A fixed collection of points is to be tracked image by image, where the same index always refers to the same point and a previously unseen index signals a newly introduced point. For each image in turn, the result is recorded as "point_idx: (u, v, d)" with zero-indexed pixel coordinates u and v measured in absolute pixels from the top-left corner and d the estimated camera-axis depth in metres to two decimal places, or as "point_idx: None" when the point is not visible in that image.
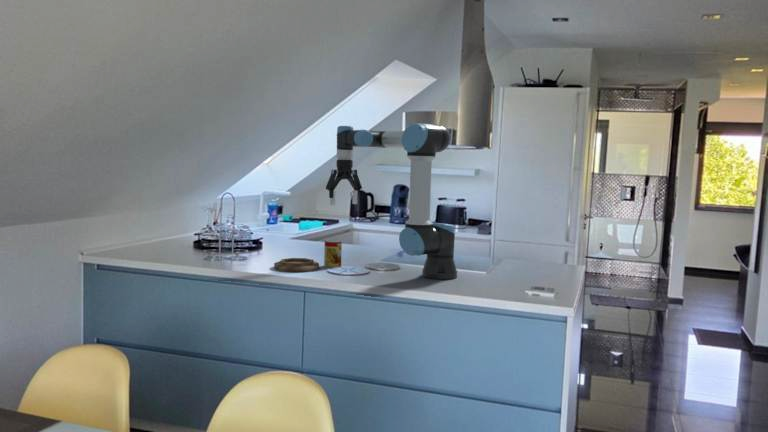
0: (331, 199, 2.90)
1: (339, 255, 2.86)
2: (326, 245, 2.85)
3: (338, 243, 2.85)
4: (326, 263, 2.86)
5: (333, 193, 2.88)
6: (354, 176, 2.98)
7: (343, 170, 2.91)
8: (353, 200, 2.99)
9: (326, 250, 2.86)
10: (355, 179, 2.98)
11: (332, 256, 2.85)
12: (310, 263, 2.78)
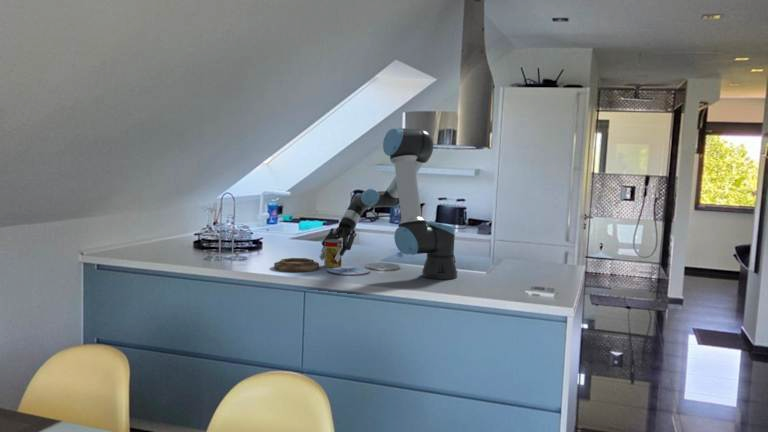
0: None
1: None
2: (326, 245, 2.85)
3: (338, 243, 2.85)
4: (326, 263, 2.86)
5: (324, 247, 2.90)
6: None
7: (341, 227, 2.96)
8: None
9: (326, 250, 2.86)
10: None
11: (332, 256, 2.85)
12: (310, 263, 2.78)
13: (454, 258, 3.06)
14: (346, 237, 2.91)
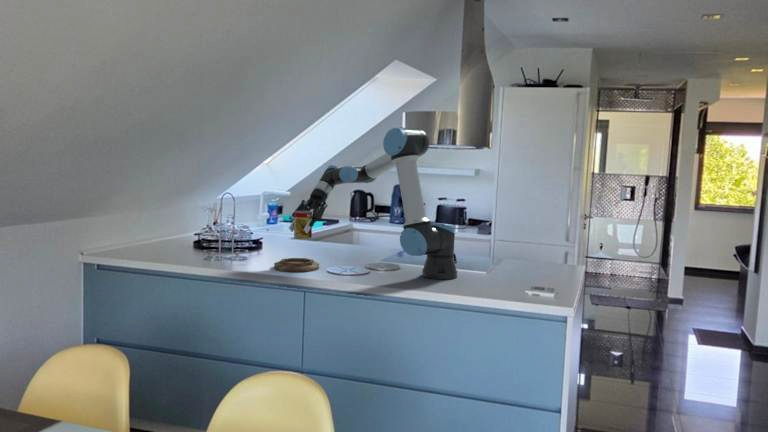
0: None
1: None
2: (295, 216, 2.80)
3: (308, 214, 2.79)
4: (296, 234, 2.81)
5: None
6: None
7: (312, 198, 2.90)
8: None
9: (295, 221, 2.80)
10: None
11: (302, 227, 2.79)
12: (310, 263, 2.78)
13: (455, 258, 3.06)
14: (317, 208, 2.85)
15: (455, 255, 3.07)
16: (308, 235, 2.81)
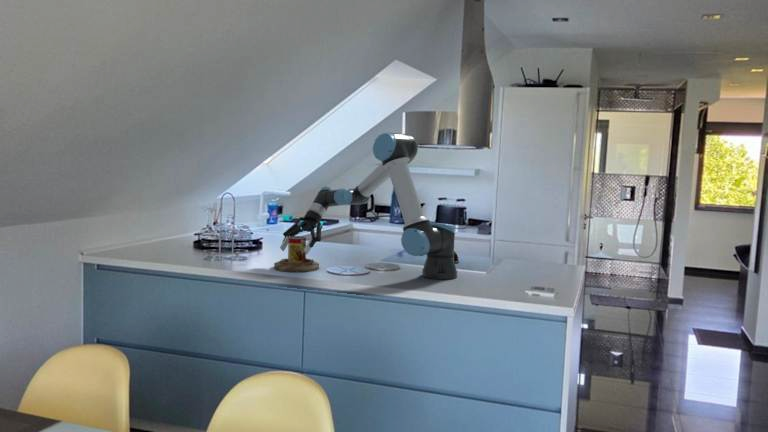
0: None
1: (303, 252, 2.79)
2: (289, 242, 2.79)
3: (302, 240, 2.78)
4: (290, 260, 2.79)
5: (285, 238, 2.85)
6: None
7: (306, 221, 2.88)
8: None
9: (290, 247, 2.79)
10: None
11: (296, 253, 2.78)
12: (310, 263, 2.78)
13: (457, 258, 3.06)
14: (313, 229, 2.84)
15: None
16: (302, 261, 2.79)
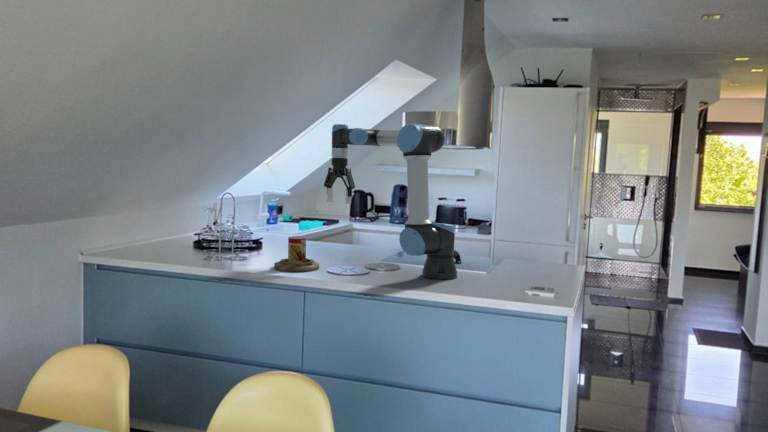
0: None
1: (303, 252, 2.79)
2: (290, 242, 2.79)
3: (302, 240, 2.78)
4: (290, 260, 2.79)
5: None
6: None
7: (335, 168, 2.95)
8: None
9: (290, 247, 2.79)
10: None
11: (296, 253, 2.78)
12: (310, 263, 2.78)
13: (460, 259, 3.05)
14: (344, 176, 2.92)
15: None
16: (302, 261, 2.79)
